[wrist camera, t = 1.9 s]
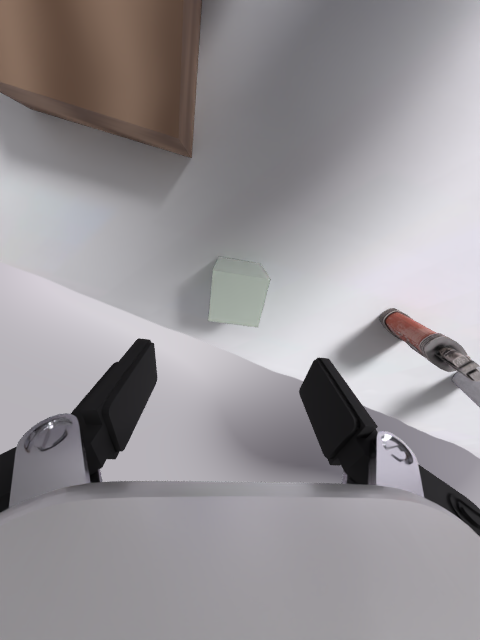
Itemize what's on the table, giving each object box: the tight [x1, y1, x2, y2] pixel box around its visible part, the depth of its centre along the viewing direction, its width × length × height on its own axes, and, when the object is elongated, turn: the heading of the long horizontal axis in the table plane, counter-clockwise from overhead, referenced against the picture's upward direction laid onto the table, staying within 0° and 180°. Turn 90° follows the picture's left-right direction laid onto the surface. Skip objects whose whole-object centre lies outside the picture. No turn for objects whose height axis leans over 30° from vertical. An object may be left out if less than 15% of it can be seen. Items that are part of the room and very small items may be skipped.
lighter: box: [380, 308, 480, 382], centre depth 23 cm, size 8×3×10 cm, turn 55°
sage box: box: [208, 257, 270, 327], centre depth 20 cm, size 6×6×7 cm
